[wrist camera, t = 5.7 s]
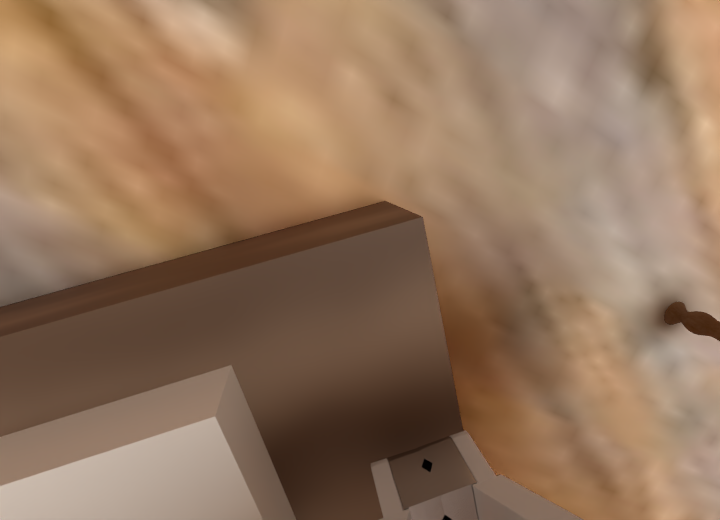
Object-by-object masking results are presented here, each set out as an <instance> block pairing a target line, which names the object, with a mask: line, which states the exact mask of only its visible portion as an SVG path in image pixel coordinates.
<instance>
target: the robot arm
mask: <svg viewBox="0 0 720 520" xmlns="http://www.w3.org/2000/svg"><path fill="white" fill-rule="evenodd" d="M387 459H388V460H387ZM371 470H372V474H373V478H374V482H375V486H376V490H377V494H378V498H379V502H380V506H381V510H382V514H383V518H382V519H379V520H583V519H581V518H579V517H578V516H576V515H574V514H572V513H570V512H568V511H567V510H565V509H563V508H561V507H559V506H558V505H556V504H554V503H552V502H550V501H549V500H547V499H545V498H543V497H541V496H539V495H538V494H536V493H534V492H532V491H530V490H529V489H527V488H525V487H523V486H521V485H519V484H518V483H516V482H514V481H512V480H510V479H509V478H507V477H505V476H503V475H498V476H496V475H495V473H494V472H493V470H492V469H491V467H490V466H489V464H488V462H487V461H486V459H485V458H484V456H483V455H482V453H481V452H480V450H479V449H478V447H477V446H476V444H475V442H474V441H473V439H472V438H471V436H470V435H469V433H468V432H467V431H462V432H459V433H456V434H453V435H451V436H450V437H449V436H447V437H445V438H442V439H439V440H436V441H434V442H431V443H428V444H425V445H423V446H420V447H418V448H416V449H412V450H409V451H406V452H403V453H400V454H397V455H394V456H391V457H387V458H385V459H382V460H379V461H376V462H373V463H371Z"/></svg>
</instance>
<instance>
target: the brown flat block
mask: <svg viewBox="0 0 720 520" xmlns="http://www.w3.org/2000/svg"><path fill="white" fill-rule="evenodd" d="M230 365H231V366H232V368H233V370H234V373H235V375H236V377H237V380H238V382H239V385H240V387H241V389H242V392H243V394H244V397H245V399H246V401H247V404H248V406H249V408H250V411H251V413H252V416H253V418H254V420H255V423H256V425H257V427H258V430H259V432H260V435H261V437H262V439H263V442H264V444H265V446H266V449H267V451H268V454H269V456H270V458H271V461H272V463H273V465H274V468H275V470H276V473H277V475H278V477H279V480H280V482H281V484H282V487H283V489H284V492H285V494H286V496H287V499H288V501H289V504H290V506H291V508H292V511H293V513H294V515H295V518H296V520H379V519H382V518H383V514H382V510H381V506H380V502H379V498H378V494H377V490H376V486H375V482H374V478H373V474H372V470H371V463H373V462H376V461H379V460H382V459H385V458H387V457H391V456H394V455H397V454H400V453H403V452H406V451H409V450H412V449H416V448H418V447H420V446H423V445H425V444H428V443H431V442H434V441H436V440H439V439H442V438H445V437H447V436H449V437H450V436H451V435H453V434H456V433H459V432H462V431H463V427H462V422H461V417H460V411H459V406H458V401H457V396H456V390H455V385H454V380H453V375H452V369H451V364H450V359H449V353H448V348H447V343H446V338H445V332H444V327H443V322H442V316H441V311H440V306H439V301H438V295H437V290H436V285H435V280H434V274H433V269H432V264H431V258H430V253H429V248H428V243H427V237H426V232H425V227H424V221H423V217H421V216H419V215H417V214H414V213H412V212H410V211H407V210H405V209H403V208H400V207H398V206H396V205H393V204H391V203H389V202H386V201H384V202H380V203H377V204H373V205H369V206H366V207H362V208H359V209H355V210H351V211H348V212H344V213H340V214H337V215H333V216H330V217H326V218H322V219H319V220H315V221H311V222H308V223H304V224H301V225H297V226H293V227H290V228H286V229H282V230H279V231H275V232H272V233H268V234H264V235H261V236H257V237H253V238H250V239H246V240H242V241H239V242H235V243H232V244H228V245H224V246H221V247H217V248H213V249H210V250H206V251H203V252H199V253H195V254H192V255H188V256H184V257H181V258H177V259H174V260H170V261H166V262H163V263H159V264H155V265H152V266H148V267H145V268H141V269H137V270H134V271H130V272H126V273H123V274H119V275H116V276H112V277H108V278H105V279H101V280H97V281H94V282H90V283H86V284H83V285H79V286H76V287H72V288H68V289H65V290H61V291H57V292H54V293H50V294H47V295H43V296H39V297H36V298H32V299H28V300H25V301H21V302H18V303H14V304H10V305H7V306H3V307H0V437H2V436H5V435H8V434H11V433H14V432H18V431H21V430H24V429H27V428H31V427H34V426H37V425H40V424H43V423H47V422H50V421H53V420H56V419H59V418H63V417H66V416H69V415H72V414H76V413H79V412H82V411H85V410H88V409H92V408H95V407H98V406H101V405H104V404H108V403H111V402H114V401H117V400H121V399H124V398H127V397H130V396H133V395H137V394H140V393H143V392H146V391H149V390H153V389H156V388H159V387H162V386H165V385H169V384H172V383H175V382H178V381H182V380H185V379H188V378H191V377H194V376H198V375H201V374H204V373H207V372H210V371H214V370H217V369H220V368H223V367H227V366H230ZM387 460H388V459H387Z"/></svg>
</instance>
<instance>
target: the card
mask: <svg viewBox="0 0 720 520" xmlns="http://www.w3.org/2000/svg"><path fill="white" fill-rule="evenodd" d="M0 520H296V518H295V515H294V513H293V511H292V508H291V506H290V504H289V501H288V499H287V496H286V494H285V492H284V489H283V487H282V484H281V482H280V480H279V477H278V475H277V473H276V470H275V468H274V465H273V463H272V461H271V458H270V456H269V454H268V451H267V449H266V446H265V444H264V442H263V439H262V437H261V435H260V432H259V430H258V427H257V425H256V423H255V420H254V418H253V416H252V413H251V411H250V408H249V406H248V404H247V401H246V399H245V397H244V394H243V392H242V389H241V387H240V385H239V382H238V380H237V377H236V375H235V373H234V370H233V368H232V366H231V365H230V366H227V367H223V368H220V369H217V370H214V371H210V372H207V373H204V374H201V375H198V376H194V377H191V378H188V379H185V380H182V381H178V382H175V383H172V384H169V385H165V386H162V387H159V388H156V389H153V390H149V391H146V392H143V393H140V394H137V395H133V396H130V397H127V398H124V399H121V400H117V401H114V402H111V403H108V404H104V405H101V406H98V407H95V408H92V409H88V410H85V411H82V412H79V413H76V414H72V415H69V416H66V417H63V418H59V419H56V420H53V421H50V422H47V423H43V424H40V425H37V426H34V427H31V428H27V429H24V430H21V431H18V432H14V433H11V434H8V435H5V436H2V437H0Z"/></svg>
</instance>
